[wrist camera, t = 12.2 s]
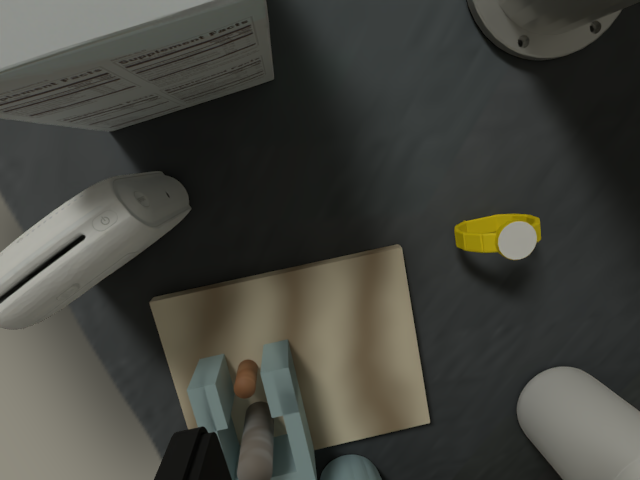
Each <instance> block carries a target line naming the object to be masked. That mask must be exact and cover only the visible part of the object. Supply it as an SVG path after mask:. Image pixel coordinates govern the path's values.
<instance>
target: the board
mask: <svg viewBox="0 0 640 480" xmlns="http://www.w3.org/2000/svg"><path fill="white" fill-rule="evenodd" d="M149 304H150V307H151V310H152V313H153V317H154V320H155V323H156V326H157V330H158V333H159V336H160V339H161V343H162V346H163V349H164V352H165V355H166V359H167V362H168V365H169V368H170V372H171V375H172V378H173V381H174V385H175V388H176V391H177V394H178V398H179V401H180V404H181V407H182V411H183V414H184V417H185V420H186V424H187V427H188V430H189V429H193V428H198V426H197V423H196V419H195V416H194V413H193V409H192V406H191V403H190V400H189V396H188V393H187V388H188V386H189V384H190V381H191V379H192V376H193V374H194V371H195V369H196V366H197V364H198V361H199V359H202V358H207V357H211V356H216V355H220V354H224V355H225V359H226V362H227V366H228V369H229V373H230V377H231V380H232V384H233V387H234V393H235V396H234V401H233V406H232V411H231V417H232V420H233V424H234V428H235V431H236V435H237V438H238V442H239V445H241V448H240V455H239V462H238V468H237V477H238V479H239V480H270V479H271V477H272V472H273V445H274V437H277V436H281V435H285V434H287V430H286V426H285V422H284V418H283V416H279V417H275V418H272V417H271V413H270V409H269V405H268V401H267V397H266V394H265V390H264V386H263V382H262V378H261V374H260V372H261V363H262V354H263V345H265V344H269V343H274V342H278V341H282V340H287V339H288V342H289V346H290V350H291V355H292V359H293V363H294V367H295V371H296V376H297V380H298V384H299V388H300V393H301V397H302V401H303V405H304V409H305V414H306V418H307V422H308V426H309V430H310V435H311V439H312V443H313V447H314V450H317V449H321V448H326V447H330V446H334V445H338V444H343V443H347V442H351V441H355V440H360V439H364V438H368V437H372V436H377V435H381V434H385V433H389V432H394V431H398V430H402V429H406V428H411V427H415V426H419V425H424V424H428V423H430V418H429V412H428V405H427V399H426V393H425V387H424V381H423V375H422V368H421V362H420V356H419V350H418V344H417V338H416V331H415V325H414V319H413V313H412V307H411V301H410V294H409V288H408V282H407V276H406V270H405V264H404V257H403V251H402V247H401V246H399V245H398V244H396V245H392V246H387V247H382V248H378V249H373V250H369V251H364V252H359V253H355V254H350V255H346V256H341V257H336V258H332V259H327V260H323V261H318V262H313V263H309V264H304V265H299V266H295V267H290V268H286V269H281V270H276V271H272V272H267V273H263V274H258V275H253V276H249V277H244V278H240V279H235V280H230V281H226V282H221V283H216V284H212V285H207V286H203V287H198V288H193V289H189V290H184V291H180V292H175V293H170V294H166V295H161V296H157V297H153V299H152V300H151V301H150V302H149Z"/></svg>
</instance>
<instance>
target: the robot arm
mask: <svg viewBox="0 0 640 480" xmlns="http://www.w3.org/2000/svg"><path fill="white" fill-rule="evenodd" d="M638 2H640V0H467V3H468V6H469V9H470V11H471V13H472V15H473V18H474V20H475V22H476V23H477V25H478V26H479V28H480V29H481V30H482V32H483V33H484V35H485V36H486V37H487V38H488V39H489V40H490V41H492V42H493V43H494V44H495V45H496V46H497V47H499V48H500V49H502V50H504V51H505V52H507V53H509V54H511V55H514V56H517V57H520V58H522V59H529V60H537V61H540V60H550V59H556V58H559V57H563V56H566V55H569V54H571V53H574V52H576V51H579V50H581V49H583V48H585V47H586V46H588V45H589V44H591V43H592V42H594V41H595V40H597V39H598V38H599V37H600V36H601V35H602V34H603V33H604V32H605V31H606V30H607V29H608V28H609V27H610V26H611V25H612V23H613V22H614V21H615V19H616V18H617V17H618V15H619V14H620V13H621V11H622V9H624V8H626V7H629V6H631V5H633V4H636V3H638ZM518 42H519V44H520V46H519V45H518ZM154 480H232V478H231V475H230V472H229V469H228V466H227V463H226V460H225V457H224V454H223V451H222V448H221V445H220V442H219V439H218V436H217V434H216V433H215V432H211V433H208V431H207V429H206V428H205V427H203V426H202V427H198V428H193V429H189V430H184V431H180V432H176V433H174V434H173V436H172V438H171V440H170V443H169V445H168V447H167V450H166V452H165V455H164V457H163V459H162V462H161V464H160V466H159V469H158V471H157V474H156V476H155V479H154Z"/></svg>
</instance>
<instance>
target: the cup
mask: <svg viewBox="0 0 640 480" xmlns="http://www.w3.org/2000/svg"><path fill="white" fill-rule="evenodd" d="M320 480H382V479H381V477H380V475H379V472H378V470H377V468H376V467H375V465H374V464H373V463H372V462H371V461H370V460H369V459H367V458H365V457H362V456H359V455H343V456H340V457H338V458H336V459H334V460H332V461H331V462H330V463H328V465H327V466H326V467H325V468H324V469H323V471H322V473H321V477H320Z"/></svg>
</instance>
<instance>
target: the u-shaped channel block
mask: <svg viewBox="0 0 640 480" xmlns="http://www.w3.org/2000/svg"><path fill="white" fill-rule="evenodd" d="M260 374H261V378H262V382H263V386H264V390H265V394H266V397H267V401H268V405H269V409H270V413H271V417H272V418H275V417H279V416H283V418H284V422H285V426H286V430H287V434H285V435H281V436H277V437H274V445H273V472H272V477H271V479H270V480H317V475H316V465H315V455H314V447H313V443H312V439H311V435H310V430H309V426H308V422H307V418H306V414H305V409H304V405H303V401H302V397H301V393H300V388H299V384H298V380H297V376H296V371H295V367H294V363H293V359H292V355H291V350H290V346H289V342H288V339H287V340H282V341H278V342H274V343H269V344H265V345H263V354H262V363H261V372H260ZM187 393H188V396H189V400H190V403H191V406H192V409H193V413H194V416H195V419H196V423H197V426H198V427H202V426H203V427H205V428H206V429H207V431H208V433H211V432H215V433H216V434H217V436H218V439H219V442H220V445H221V448H222V451H223V454H224V457H225V460H226V463H227V466H228V469H229V472H230V475H231V478H232V480H239V479H238V477H237V468H238V462H239V455H240V448H241V445H239V442H238V438H237V435H236V431H235V428H234V424H233V420H232V417H231V411H232V406H233V401H234V396H235V393H234V387H233V384H232V380H231V377H230V373H229V369H228V366H227V362H226V359H225V355H224V354H220V355H216V356H211V357H207V358H202V359H199V361H198V364H197V366H196V369H195V371H194V374H193V376H192V379H191V381H190V384H189V386H188V388H187Z"/></svg>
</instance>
